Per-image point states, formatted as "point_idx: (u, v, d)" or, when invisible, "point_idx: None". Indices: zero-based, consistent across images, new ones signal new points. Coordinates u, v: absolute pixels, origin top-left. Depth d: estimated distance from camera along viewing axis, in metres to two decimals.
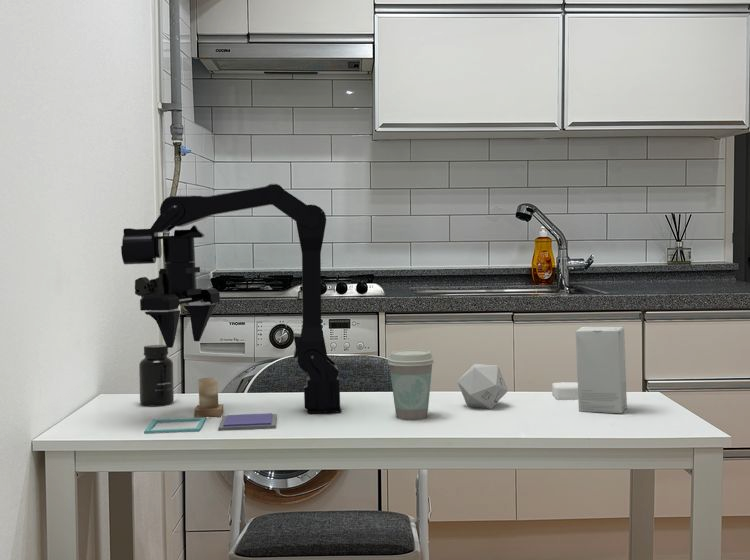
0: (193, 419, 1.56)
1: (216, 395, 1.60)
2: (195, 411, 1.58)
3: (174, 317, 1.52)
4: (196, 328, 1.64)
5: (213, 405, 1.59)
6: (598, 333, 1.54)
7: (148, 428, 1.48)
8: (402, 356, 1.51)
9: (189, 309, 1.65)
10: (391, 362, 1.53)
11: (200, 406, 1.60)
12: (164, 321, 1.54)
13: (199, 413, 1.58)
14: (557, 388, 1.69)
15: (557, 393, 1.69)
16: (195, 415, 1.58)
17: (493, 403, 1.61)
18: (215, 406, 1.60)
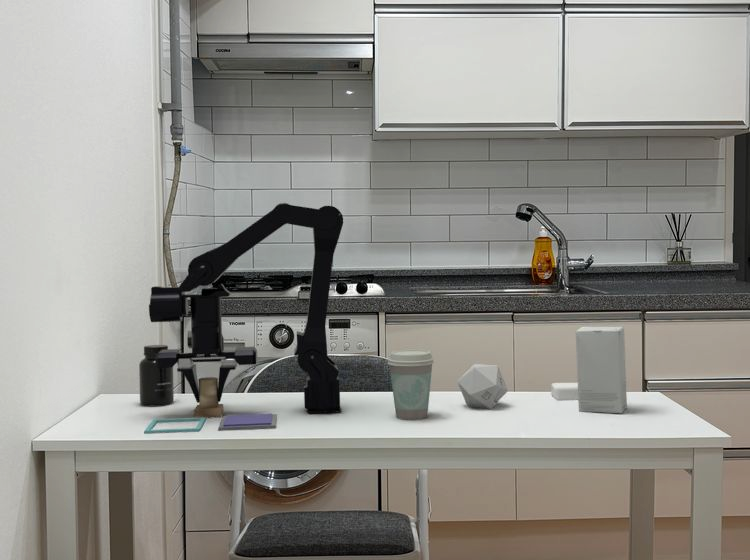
0: (193, 419, 1.56)
1: (216, 395, 1.60)
2: (195, 411, 1.58)
3: (185, 374, 1.57)
4: None
5: (213, 405, 1.59)
6: (598, 333, 1.54)
7: (148, 428, 1.48)
8: (402, 356, 1.51)
9: None
10: (391, 362, 1.53)
11: (200, 406, 1.60)
12: None
13: (199, 413, 1.58)
14: (558, 388, 1.68)
15: (558, 394, 1.68)
16: (195, 415, 1.58)
17: (493, 403, 1.61)
18: (215, 406, 1.60)
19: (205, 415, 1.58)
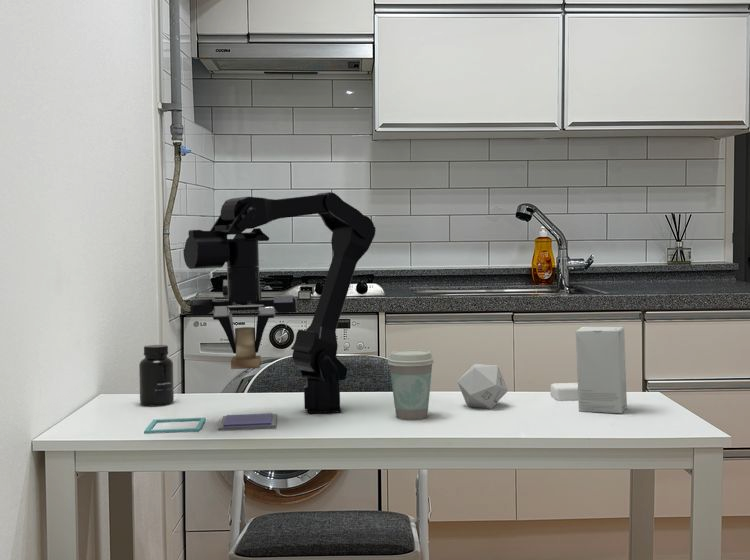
0: (193, 419, 1.56)
1: (254, 345, 1.51)
2: (232, 361, 1.50)
3: (221, 323, 1.49)
4: None
5: (250, 356, 1.51)
6: (598, 333, 1.54)
7: (148, 428, 1.48)
8: (402, 356, 1.51)
9: None
10: (391, 362, 1.53)
11: (237, 356, 1.51)
12: None
13: (235, 364, 1.50)
14: (558, 389, 1.67)
15: (558, 394, 1.67)
16: (232, 365, 1.50)
17: (493, 403, 1.61)
18: (253, 356, 1.51)
19: (242, 366, 1.50)
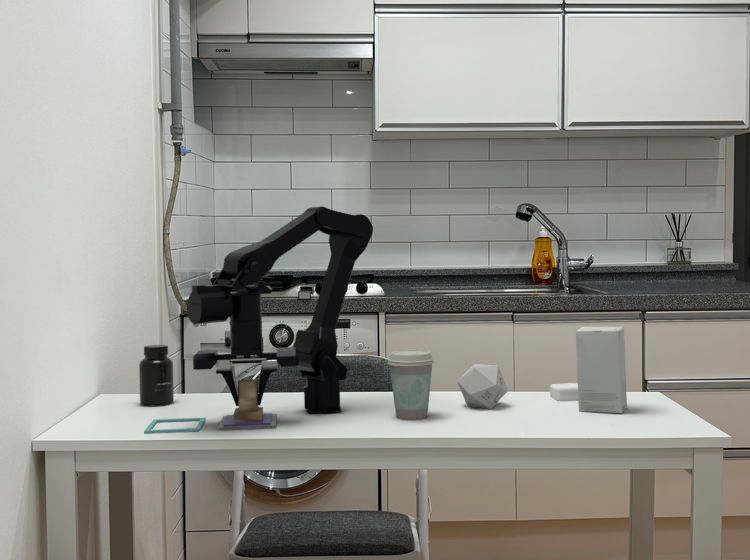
0: (193, 419, 1.56)
1: (256, 397, 1.52)
2: (235, 414, 1.50)
3: (224, 376, 1.49)
4: None
5: (253, 409, 1.51)
6: (598, 333, 1.54)
7: (148, 428, 1.48)
8: (402, 356, 1.51)
9: None
10: (391, 362, 1.53)
11: (240, 409, 1.51)
12: None
13: (238, 417, 1.50)
14: (559, 389, 1.67)
15: (559, 394, 1.67)
16: (235, 419, 1.50)
17: (493, 403, 1.61)
18: (255, 409, 1.51)
19: (245, 419, 1.50)
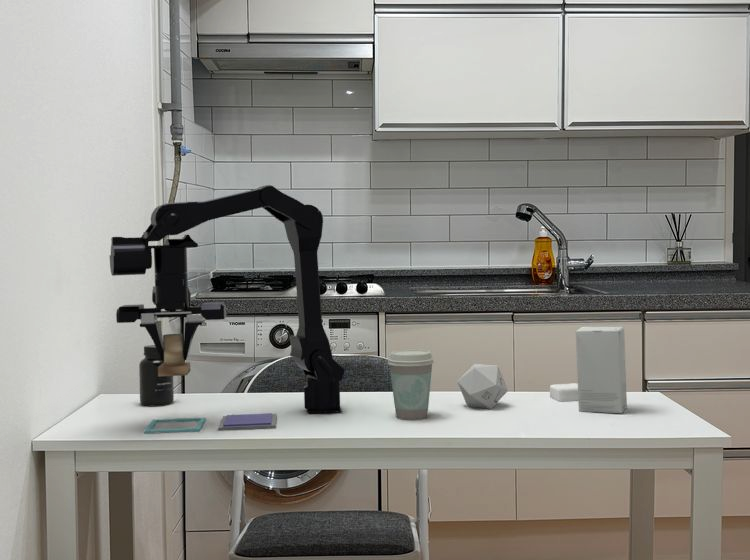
0: (193, 419, 1.56)
1: (182, 352, 1.50)
2: (159, 368, 1.48)
3: (148, 330, 1.48)
4: None
5: (178, 363, 1.49)
6: (598, 333, 1.54)
7: (148, 428, 1.48)
8: (402, 356, 1.51)
9: None
10: (391, 362, 1.53)
11: (165, 363, 1.50)
12: None
13: (163, 371, 1.48)
14: (560, 390, 1.66)
15: (560, 395, 1.66)
16: (159, 372, 1.48)
17: (493, 403, 1.61)
18: (181, 363, 1.50)
19: (170, 373, 1.48)
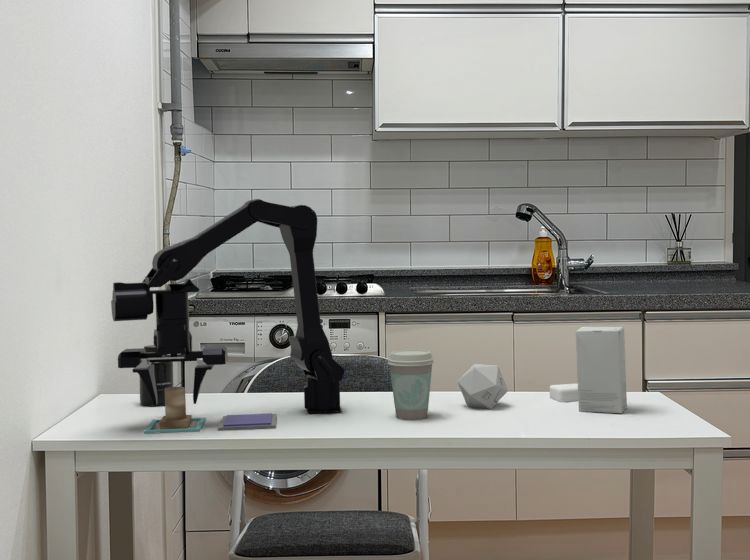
0: (193, 419, 1.56)
1: (183, 405, 1.50)
2: (160, 422, 1.48)
3: (141, 375, 1.48)
4: None
5: (180, 417, 1.50)
6: (598, 333, 1.54)
7: (148, 428, 1.48)
8: (402, 356, 1.51)
9: None
10: (391, 362, 1.53)
11: (166, 417, 1.50)
12: None
13: (164, 425, 1.49)
14: (561, 390, 1.66)
15: (561, 395, 1.66)
16: (160, 427, 1.49)
17: (493, 403, 1.61)
18: (182, 417, 1.50)
19: (171, 427, 1.49)
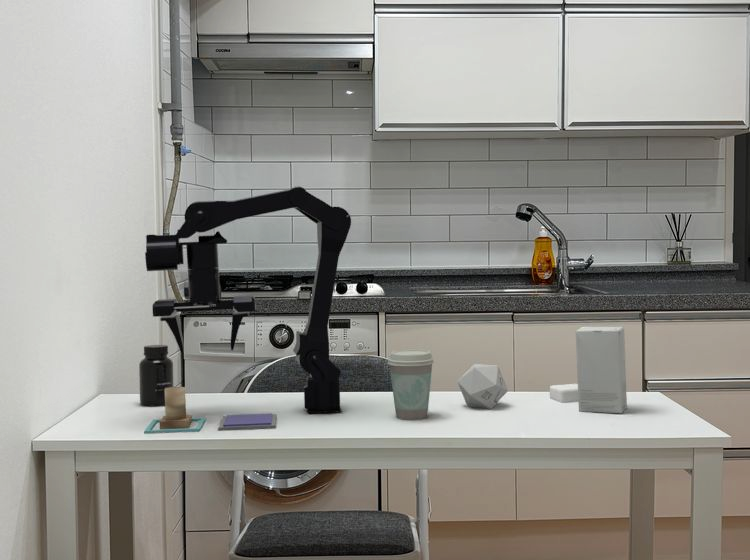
0: (193, 419, 1.56)
1: (183, 405, 1.50)
2: (160, 422, 1.48)
3: (168, 324, 1.54)
4: None
5: (180, 417, 1.50)
6: (598, 333, 1.54)
7: (148, 428, 1.48)
8: (402, 356, 1.51)
9: None
10: (391, 362, 1.53)
11: (166, 417, 1.50)
12: None
13: (164, 425, 1.49)
14: (562, 391, 1.65)
15: (563, 396, 1.65)
16: (160, 427, 1.49)
17: (493, 403, 1.61)
18: (182, 417, 1.50)
19: (171, 427, 1.49)
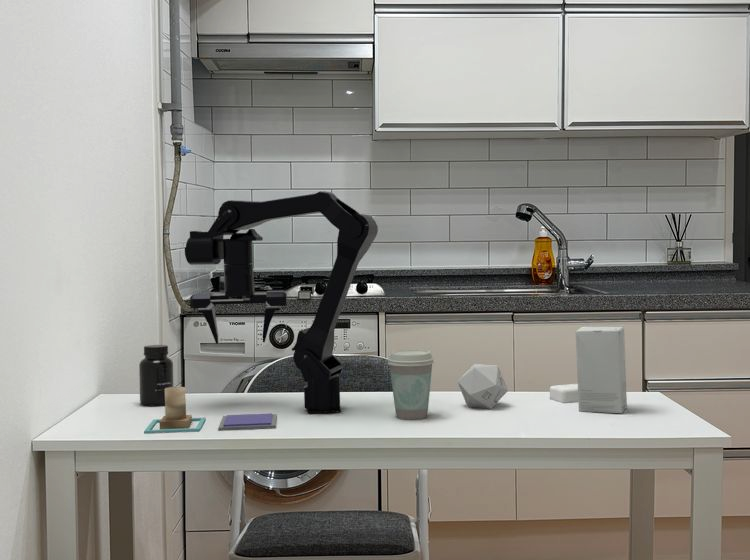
0: (193, 419, 1.56)
1: (183, 405, 1.50)
2: (160, 422, 1.48)
3: (204, 315, 1.63)
4: None
5: (180, 417, 1.50)
6: (598, 333, 1.54)
7: (148, 428, 1.48)
8: (402, 356, 1.51)
9: None
10: (391, 362, 1.53)
11: (166, 417, 1.50)
12: None
13: (164, 425, 1.49)
14: (564, 391, 1.65)
15: (564, 396, 1.65)
16: (160, 427, 1.49)
17: (493, 403, 1.61)
18: (182, 417, 1.50)
19: (171, 427, 1.49)
